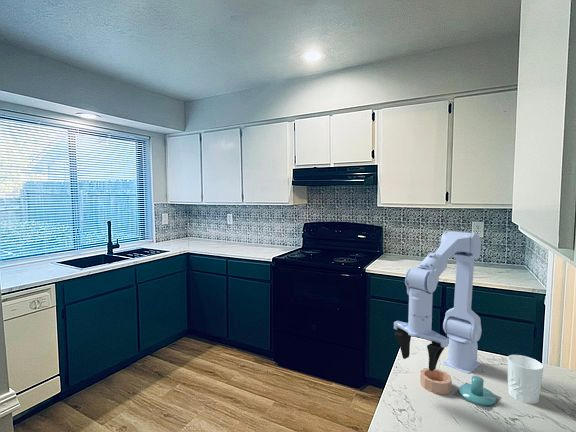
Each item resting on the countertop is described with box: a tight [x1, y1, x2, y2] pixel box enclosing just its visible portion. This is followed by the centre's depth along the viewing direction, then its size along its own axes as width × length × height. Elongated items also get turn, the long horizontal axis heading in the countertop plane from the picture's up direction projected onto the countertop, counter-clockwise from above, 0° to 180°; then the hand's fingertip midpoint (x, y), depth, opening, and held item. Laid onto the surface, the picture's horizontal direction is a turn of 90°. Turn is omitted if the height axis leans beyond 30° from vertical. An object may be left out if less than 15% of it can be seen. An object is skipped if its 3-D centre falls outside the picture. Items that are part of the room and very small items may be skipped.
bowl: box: [419, 367, 453, 395], centre depth 93 cm, size 8×8×3 cm
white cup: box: [506, 354, 544, 405], centre depth 88 cm, size 8×8×10 cm
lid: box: [458, 375, 496, 406], centre depth 88 cm, size 9×9×5 cm
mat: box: [452, 382, 502, 412], centre depth 88 cm, size 9×9×1 cm
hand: (418, 363), depth 86 cm, fingers open, 7 cm apart
